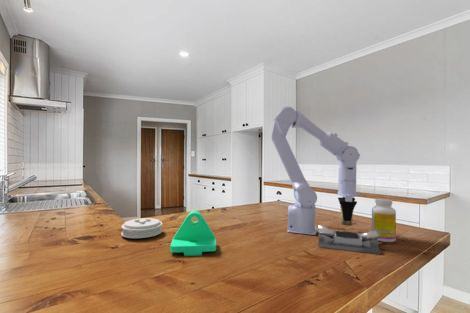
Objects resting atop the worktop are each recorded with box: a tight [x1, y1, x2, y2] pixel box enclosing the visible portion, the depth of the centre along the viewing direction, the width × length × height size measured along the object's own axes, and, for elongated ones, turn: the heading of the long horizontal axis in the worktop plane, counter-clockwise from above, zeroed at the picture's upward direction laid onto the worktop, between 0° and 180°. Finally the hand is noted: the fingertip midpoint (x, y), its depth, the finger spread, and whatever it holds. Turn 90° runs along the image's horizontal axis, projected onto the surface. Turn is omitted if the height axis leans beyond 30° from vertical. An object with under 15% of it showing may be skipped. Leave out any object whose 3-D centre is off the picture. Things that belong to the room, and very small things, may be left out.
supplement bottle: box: [371, 198, 397, 243], centre depth 81 cm, size 7×7×13 cm
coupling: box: [339, 205, 354, 227], centre depth 89 cm, size 4×4×7 cm
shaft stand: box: [316, 224, 382, 255], centre depth 76 cm, size 17×10×5 cm, turn 70°
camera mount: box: [169, 210, 217, 257], centre depth 70 cm, size 12×8×10 cm, turn 97°
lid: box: [120, 217, 163, 239], centre depth 84 cm, size 13×13×5 cm
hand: (346, 219), depth 88 cm, fingers closed on coupling, 4 cm apart
